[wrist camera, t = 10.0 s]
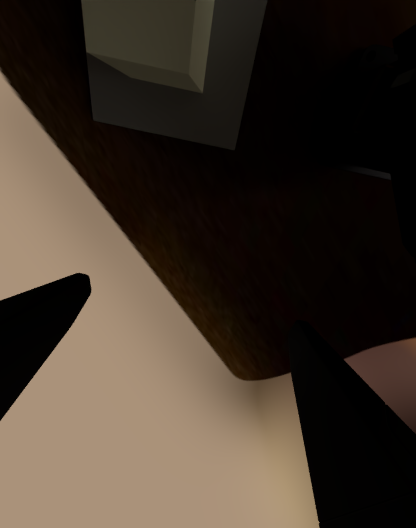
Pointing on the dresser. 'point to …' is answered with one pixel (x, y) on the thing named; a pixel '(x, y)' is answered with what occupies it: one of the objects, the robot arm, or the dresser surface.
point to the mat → (185, 101)
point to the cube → (151, 38)
